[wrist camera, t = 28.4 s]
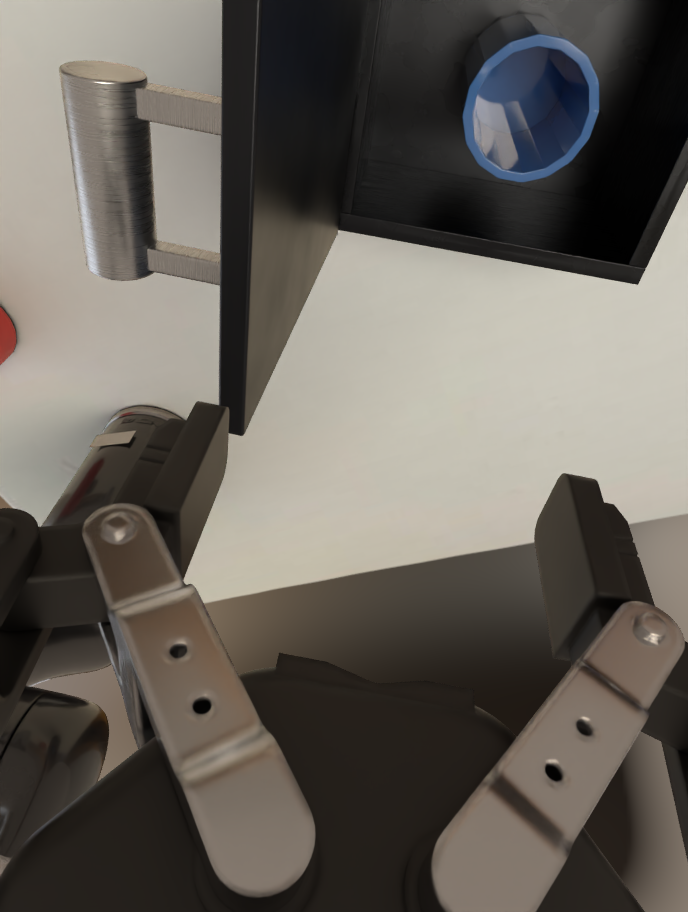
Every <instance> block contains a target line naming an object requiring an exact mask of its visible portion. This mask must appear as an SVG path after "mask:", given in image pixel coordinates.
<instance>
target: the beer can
mask: <svg viewBox="0 0 688 912" xmlns="http://www.w3.org/2000/svg"><path fill="white" fill-rule="evenodd" d="M15 345H16V332H15V329H14V326H13V324H12V322H11V320H10V318H9V316H8V315H7V314H6V313H5V311H4V310H3V309H2V308H1V307H0V365H1V364H2V363H3V362H4V361H5V360H6V359H7V358H8V357H9V356H10V355H11V354H12V353H13V352H14V349H15Z"/></svg>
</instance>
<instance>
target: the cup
mask: <svg viewBox="0 0 688 912" xmlns="http://www.w3.org/2000/svg"><path fill="white" fill-rule="evenodd" d="M459 88H460V99H461V109H462V119H463V126H464V134H465V142H466V144H467V146H468V148H469V150H470V151H471V153H472V155H473V156H474V158H475V160H476V162H477V163H478V164H479V166H481V167H482V168H484V169H485V170H487V171H488V172H490V173H491V174H492V175H494V176H495V177H497V178H499V179H504V180H510V181H515V182H527V181H532V180H536V179H541V178H545V177H547V176H550V175H551V174H553V173H554V172H556V171H557V170H559V169H560V168H562V167H564V166H565V165H567V164H568V163H570V161H572V160H573V158H574V157H575V156H576V155H577V153H578V152H579V151H580V150H581V148H582V147H583V146H584V145H585V143H586V142H587V141H588V139H589V138H590V135H591V133H592V130H593V127H594V124H595V121H596V119H597V116H598V113H599V79H598V77H597V75H596V73H595V71H594V68H593V66H592V64H591V62H590V60H589V57H588V56H587V54H586V53H584V52H583V51H582V50H581V49H580V48H579V47H578V46H577V45H576V44H575V43H574V42H573V41H572V40H571V39H570V38H569V37H568V36H567V35H566V34H565V33H564V32H563V31H562V30H560V29H559V28H558V27H557V26H555V25H554V24H553V23H552V22H550V21H549V20H548V19H547V18H544V17H541V16H537V15H533V14H516V15H511V16H508V17H505V18H502V19H500V20H499V21H497V22H495V23H493V24H492V25H491V26H489V27H488V28H487V29H486V30H484V31H483V32H482V33H481V34H480V36H479V37H478V38H477V39H476V40H475V42H474V43H473V45H472V46H471V48H470V50H469V51H468V53H467V56H466V58H465V60H464V63H463V67H462V71H461V77H460V83H459Z"/></svg>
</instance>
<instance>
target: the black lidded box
mask: <svg viewBox="0 0 688 912" xmlns="http://www.w3.org/2000/svg"><path fill="white" fill-rule="evenodd" d="M516 14H533V15H537V16H541V17H544V18H547V19H548V20H549V21H550V22H552V23H553V24H554V25H555V26H557V27H558V28H559V29H560V30H562V31H563V32H564V33H565V34H566V35H567V36H568V37H569V38H570V39H571V40H572V41H573V42H574V43H575V44H576V45H577V46H578V47H579V48H580V49H581V50H582V51H583V52H584V53H586V54H587V56H588V57H589V60H590V62H591V64H592V66H593V68H594V71H595V73H596V75H597V77H598V79H599V113H598V116H597V119H596V121H595V124H594V127H593V130H592V133H591V135H590V138H589V139H588V141H587V142H586V143H585V145H584V146H583V147H582V148H581V150H580V151H579V152H578V153H577V155H576V156H575V157H574V158H573V160H572V161H570V163H568V164H567V165H565V166H564V167H562V168H560V169H559V170H557V171H556V172H554V173H553V174H551V175H550V176H547V177H545V178H541V179H536V180H532V181H527V182H515V181H510V180H504V179H499V178H497V177H495V176H494V175H492V174H491V173H490V172H488V171H487V170H485V169H484V168H482V167H481V166H479V164H478V163H477V162H476V160H475V158H474V156H473V155H472V153H471V151H470V150H469V148H468V146H467V144H466V142H465V134H464V126H463V119H462V109H461V99H460V88H459V83H460V77H461V71H462V67H463V63H464V60H465V58H466V56H467V53H468V51H469V50H470V48H471V46H472V45H473V43H474V42H475V40H476V39H477V38H478V37H479V36H480V34H481V33H482V32H483V31H484V30H486V29H487V28H488V27H489V26H491V25H492V24H493V23H495V22H497V21H499V20H500V19H502V18H505V17H508V16H511V15H516ZM687 182H688V0H369V1H368V9H367V16H366V24H365V31H364V39H363V46H362V54H361V61H360V69H359V77H358V84H357V92H356V99H355V107H354V114H353V122H352V129H351V137H350V144H349V152H348V159H347V167H346V174H345V182H344V189H343V197H342V204H341V212H340V219H339V227H338V230H343V231H348V232H354V233H359V234H364V235H370V236H375V237H381V238H386V239H392V240H397V241H403V242H408V243H413V244H419V245H424V246H430V247H435V248H441V249H446V250H452V251H457V252H462V253H468V254H473V255H479V256H484V257H490V258H495V259H501V260H506V261H512V262H517V263H522V264H528V265H533V266H539V267H544V268H550V269H555V270H561V271H566V272H571V273H577V274H582V275H588V276H593V277H599V278H604V279H610V280H615V281H620V282H626V283H631V284H637V285H638V284H639V281H640V279H641V277H642V275H643V273H644V271H645V268H646V267H647V265H648V263H649V261H650V259H651V257H652V254H653V252H654V250H655V248H656V246H657V244H658V242H659V240H660V238H661V236H662V234H663V232H664V229H665V227H666V225H667V223H668V221H669V219H670V217H671V215H672V213H673V211H674V209H675V207H676V204H677V202H678V200H679V198H680V196H681V194H682V192H683V190H684V188H685V186H686V184H687Z"/></svg>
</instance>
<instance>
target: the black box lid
mask: <svg viewBox="0 0 688 912" xmlns="http://www.w3.org/2000/svg"><path fill="white" fill-rule="evenodd" d="M368 1H369V0H222V97H217V96H212V95H207V94H202V93H197V92H192V91H187V90H182V89H177V88H172V87H166V86H161V85H156V84H151V83H147V76H146V74H145V73H144V72H143V71H141V70H139V69H137V68H134V67H131V66H128V65H123V64H118V63H112V62H104V61H74V62H68V63H65V64H62V65H61V66H60V68H59V73H60V80H61V87H62V94H63V102H64V109H65V116H66V123H67V130H68V137H69V144H70V152H71V159H72V166H73V173H74V180H75V187H76V195H77V202H78V209H79V216H80V223H81V230H82V237H83V245H84V252H85V259H86V265H87V267H88V269H89V270H90V271H91V272H92V273H93V274H95V275H97V276H99V277H102V278H106V279H111V280H121V281H127V280H137V279H141V278H145V277H147V276H150V275H151V274H153V273H154V272H158V273H163V274H167V275H172V276H177V277H182V278H187V279H191V280H196V281H201V282H206V283H211V284H216V285H220V345H219V405H220V406H225V407H228V408H229V433H230V434H235V435H240V436H243V435H244V433H245V431H246V429H247V427H248V425H249V423H250V420H251V418H252V416H253V414H254V412H255V410H256V407H257V405H258V403H259V401H260V399H261V397H262V395H263V392H264V390H265V388H266V386H267V384H268V382H269V379H270V377H271V375H272V373H273V371H274V369H275V367H276V364H277V362H278V360H279V358H280V356H281V354H282V351H283V349H284V347H285V345H286V343H287V341H288V339H289V336H290V334H291V332H292V330H293V328H294V326H295V323H296V321H297V319H298V317H299V315H300V313H301V311H302V308H303V306H304V304H305V302H306V300H307V298H308V296H309V293H310V291H311V289H312V287H313V285H314V283H315V280H316V278H317V276H318V274H319V272H320V270H321V268H322V265H323V263H324V261H325V259H326V257H327V255H328V252H329V250H330V248H331V246H332V244H333V242H334V240H335V237H336V235H337V233H338V227H339V219H340V212H341V204H342V197H343V189H344V182H345V174H346V167H347V159H348V152H349V144H350V137H351V129H352V122H353V114H354V107H355V99H356V92H357V84H358V77H359V69H360V61H361V54H362V46H363V39H364V31H365V24H366V16H367V9H368ZM150 122H155V123H160V124H166V125H171V126H176V127H181V128H186V129H191V130H196V131H201V132H206V133H211V134H216V135H221V221H220V253H216V252H211V251H206V250H201V249H196V248H192V247H187V246H182V245H177V244H172V243H167V242H162V241H157V233H156V216H155V200H154V183H153V166H152V150H151V133H150Z"/></svg>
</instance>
